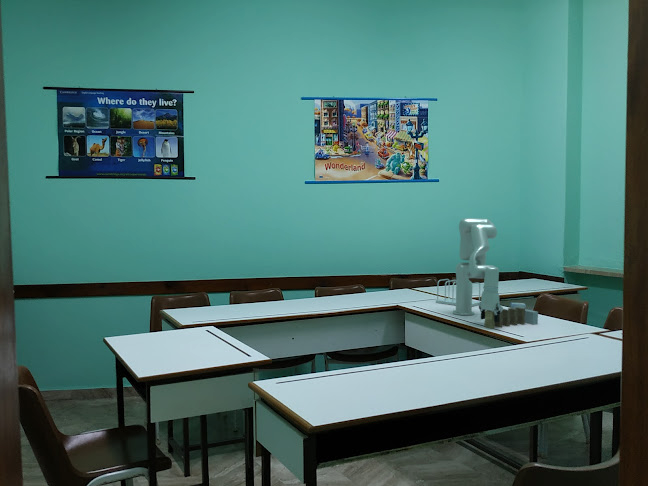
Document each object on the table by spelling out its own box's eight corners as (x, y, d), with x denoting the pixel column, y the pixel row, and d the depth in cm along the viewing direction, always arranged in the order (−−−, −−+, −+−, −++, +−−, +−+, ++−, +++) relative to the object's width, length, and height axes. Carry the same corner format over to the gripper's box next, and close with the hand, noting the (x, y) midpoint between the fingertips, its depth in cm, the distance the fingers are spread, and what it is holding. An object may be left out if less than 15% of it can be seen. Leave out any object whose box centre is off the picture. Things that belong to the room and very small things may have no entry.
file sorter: (481, 304, 420) (482, 281, 419) (469, 307, 407) (470, 283, 406) (448, 300, 436) (448, 278, 435) (435, 303, 423) (436, 280, 422)
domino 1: (491, 328, 339) (492, 312, 339) (484, 326, 344) (485, 310, 343) (494, 328, 340) (495, 311, 340) (487, 326, 345) (487, 310, 344)
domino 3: (507, 326, 345) (507, 310, 345) (500, 324, 350) (500, 309, 349) (509, 326, 346) (510, 310, 346) (502, 324, 351) (503, 308, 350)
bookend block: (532, 324, 353) (533, 312, 352) (518, 321, 361) (519, 309, 361) (537, 324, 355) (538, 311, 354) (523, 320, 363) (524, 309, 363)
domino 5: (522, 324, 352) (522, 308, 351) (514, 323, 356) (515, 307, 356) (524, 324, 353) (525, 308, 352) (517, 322, 357) (517, 307, 357)
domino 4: (514, 325, 349) (515, 309, 348) (507, 324, 353) (508, 308, 352) (517, 325, 350) (517, 309, 349) (509, 323, 354) (510, 308, 353)
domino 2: (499, 327, 342) (500, 311, 342) (492, 325, 347) (493, 309, 346) (502, 327, 343) (502, 311, 343) (494, 325, 348) (495, 309, 347)
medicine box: (523, 317, 375) (524, 303, 375) (525, 318, 371) (525, 304, 370) (510, 316, 376) (510, 302, 376) (511, 318, 372) (512, 303, 371)
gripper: (474, 287, 346) (473, 318, 347) (498, 292, 331) (496, 323, 332) (484, 287, 350) (482, 317, 351) (508, 291, 335) (506, 322, 336)
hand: (489, 320), depth 342 cm, fingers open, 9 cm apart
